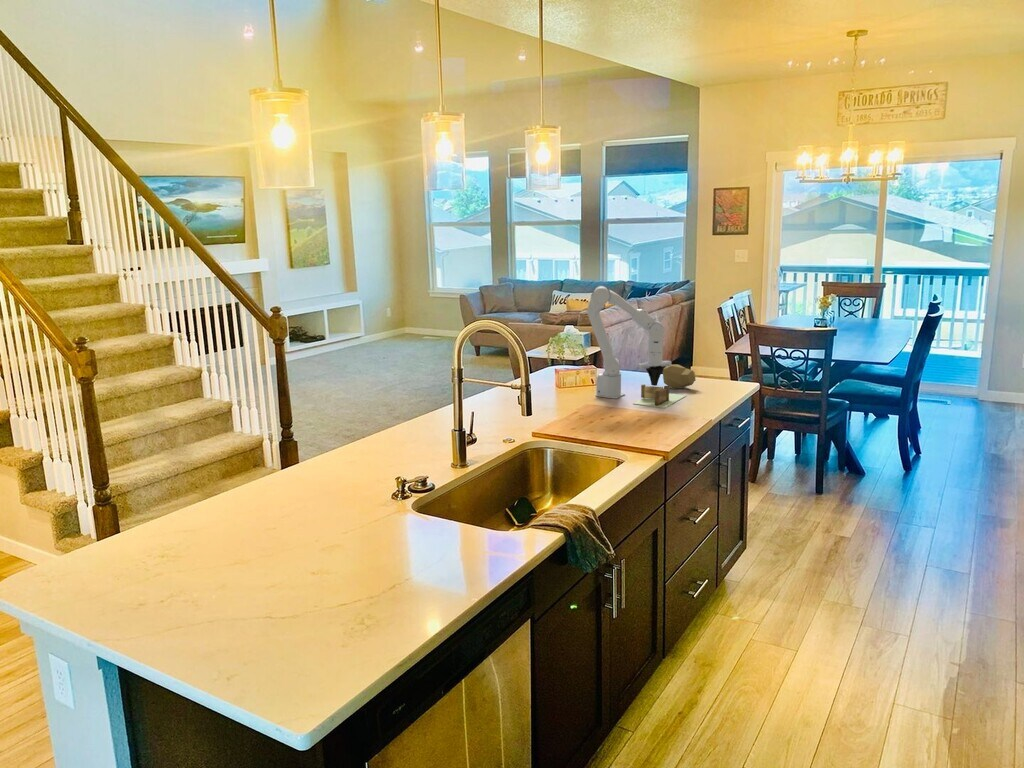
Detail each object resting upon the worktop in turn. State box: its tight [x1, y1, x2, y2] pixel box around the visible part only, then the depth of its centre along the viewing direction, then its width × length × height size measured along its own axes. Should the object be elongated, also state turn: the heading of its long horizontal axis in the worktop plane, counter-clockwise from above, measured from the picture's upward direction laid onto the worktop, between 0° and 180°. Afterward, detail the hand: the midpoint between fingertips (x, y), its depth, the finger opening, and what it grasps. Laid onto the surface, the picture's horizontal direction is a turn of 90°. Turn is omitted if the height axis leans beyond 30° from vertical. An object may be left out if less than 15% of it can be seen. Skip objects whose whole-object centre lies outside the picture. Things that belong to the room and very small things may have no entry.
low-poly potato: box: [662, 364, 697, 390], centre depth 319 cm, size 15×11×12 cm
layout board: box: [633, 392, 687, 409], centre depth 300 cm, size 13×22×1 cm, turn 147°
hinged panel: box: [640, 383, 664, 399], centre depth 300 cm, size 8×2×5 cm, turn 69°
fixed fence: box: [655, 385, 670, 406], centre depth 295 cm, size 2×11×6 cm, turn 147°
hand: (654, 385), depth 306 cm, fingers closed
